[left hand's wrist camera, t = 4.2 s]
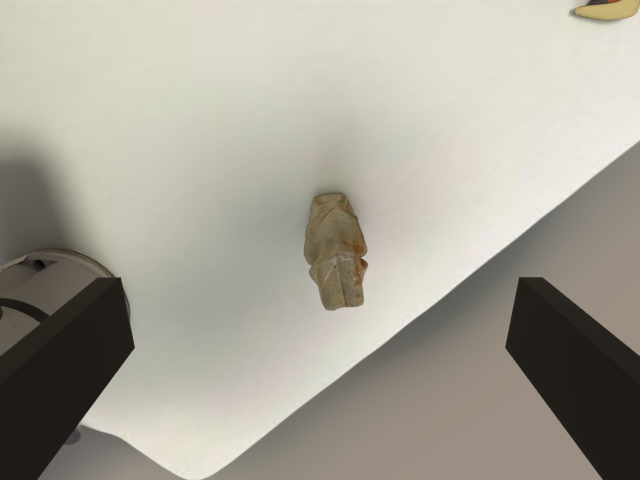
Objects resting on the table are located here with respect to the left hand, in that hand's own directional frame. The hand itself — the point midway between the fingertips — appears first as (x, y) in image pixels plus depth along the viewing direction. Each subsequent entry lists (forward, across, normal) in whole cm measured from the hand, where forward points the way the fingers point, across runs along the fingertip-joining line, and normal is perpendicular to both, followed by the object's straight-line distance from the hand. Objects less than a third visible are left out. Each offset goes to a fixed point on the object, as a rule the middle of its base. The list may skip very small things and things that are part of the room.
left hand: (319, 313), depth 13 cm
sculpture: (+31, -1, +6) cm, 31 cm away
